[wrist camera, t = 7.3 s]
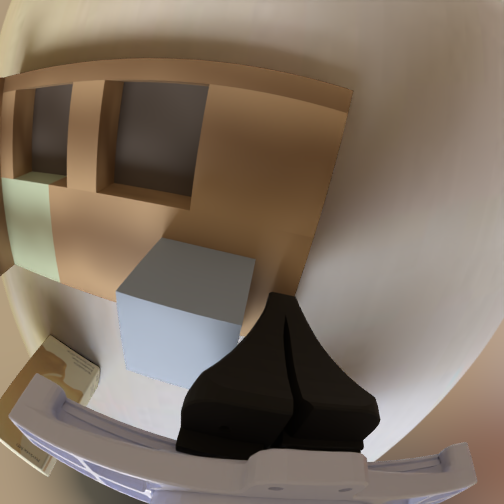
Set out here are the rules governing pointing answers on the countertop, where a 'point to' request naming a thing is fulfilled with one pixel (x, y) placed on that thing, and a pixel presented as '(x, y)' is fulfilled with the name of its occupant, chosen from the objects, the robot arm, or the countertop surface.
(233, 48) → the countertop surface
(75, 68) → the board
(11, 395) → the skincare box
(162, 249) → the block
